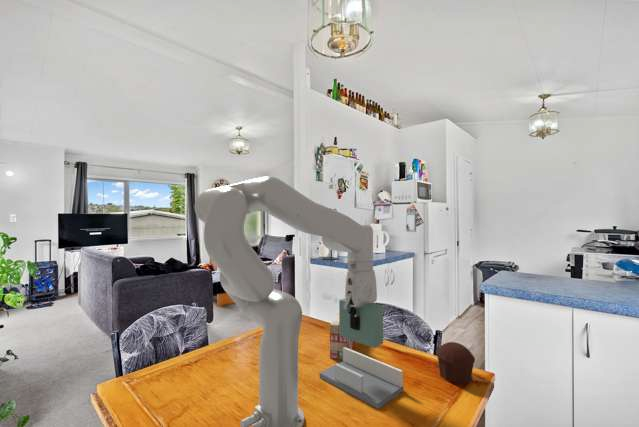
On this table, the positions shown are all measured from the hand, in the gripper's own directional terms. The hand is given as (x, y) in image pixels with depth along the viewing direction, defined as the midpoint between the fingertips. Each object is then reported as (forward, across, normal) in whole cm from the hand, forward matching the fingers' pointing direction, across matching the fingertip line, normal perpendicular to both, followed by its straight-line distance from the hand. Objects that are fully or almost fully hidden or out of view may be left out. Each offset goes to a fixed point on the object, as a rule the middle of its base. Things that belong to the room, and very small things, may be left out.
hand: (360, 326), depth 95 cm
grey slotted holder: (+17, 0, 0) cm, 17 cm away
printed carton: (+18, +16, +21) cm, 32 cm away
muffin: (+18, +25, -18) cm, 35 cm away
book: (+4, 0, 0) cm, 4 cm away
